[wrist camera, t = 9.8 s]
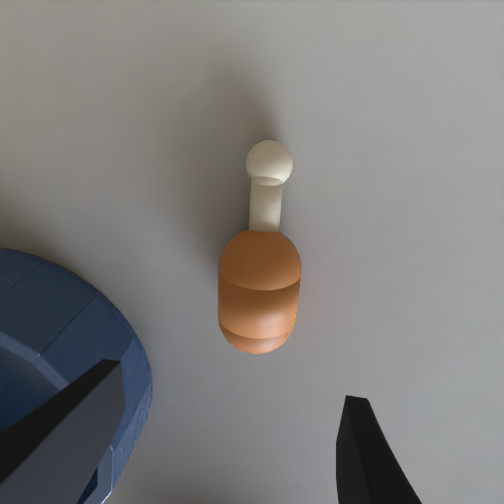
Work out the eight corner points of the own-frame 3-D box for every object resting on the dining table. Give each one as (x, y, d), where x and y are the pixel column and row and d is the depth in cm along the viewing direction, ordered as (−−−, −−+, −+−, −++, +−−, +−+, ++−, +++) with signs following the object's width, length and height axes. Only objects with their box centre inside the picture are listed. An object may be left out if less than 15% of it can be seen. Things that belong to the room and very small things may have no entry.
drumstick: (293, 327, 21) (289, 376, 18) (225, 318, 22) (209, 365, 18) (316, 139, 17) (316, 159, 14) (230, 132, 17) (211, 150, 14)
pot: (94, 482, 30) (52, 563, 25) (-108, 372, 28) (-197, 437, 23) (198, 349, 23) (167, 427, 18) (-61, 191, 21) (-173, 231, 16)
